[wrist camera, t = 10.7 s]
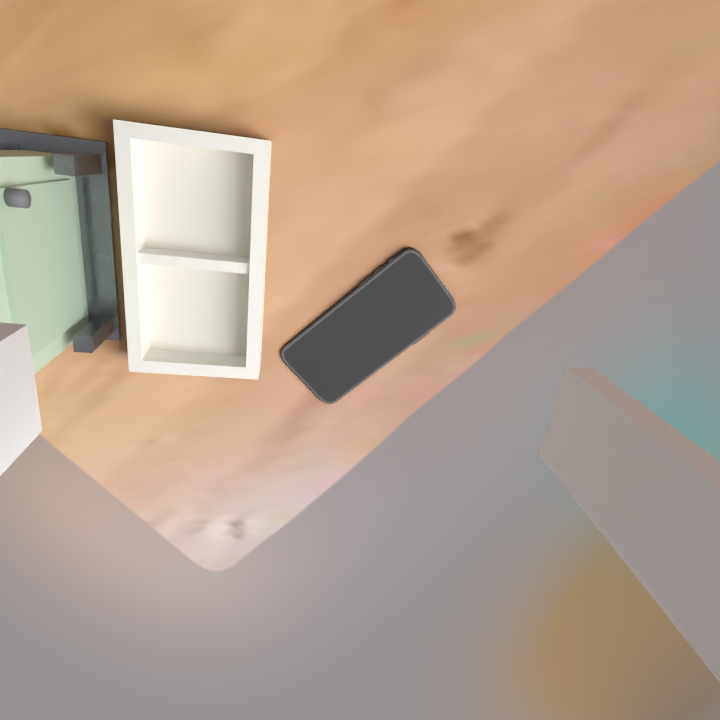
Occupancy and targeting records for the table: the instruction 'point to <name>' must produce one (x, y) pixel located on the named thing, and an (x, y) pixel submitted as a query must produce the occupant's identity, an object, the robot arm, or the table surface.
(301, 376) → the smartphone
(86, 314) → the door panel
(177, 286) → the white divided tray
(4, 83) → the table surface
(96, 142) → the grey four-post stand
